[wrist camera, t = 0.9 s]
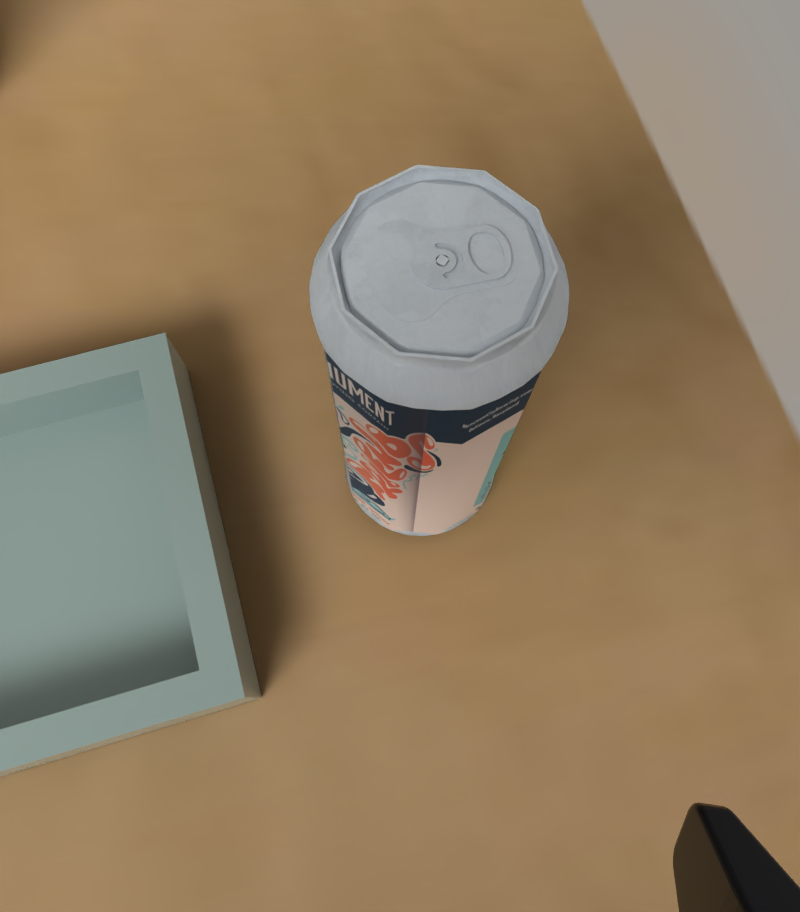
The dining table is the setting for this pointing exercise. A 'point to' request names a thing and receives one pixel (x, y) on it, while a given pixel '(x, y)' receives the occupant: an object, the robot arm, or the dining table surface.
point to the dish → (110, 557)
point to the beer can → (434, 337)
